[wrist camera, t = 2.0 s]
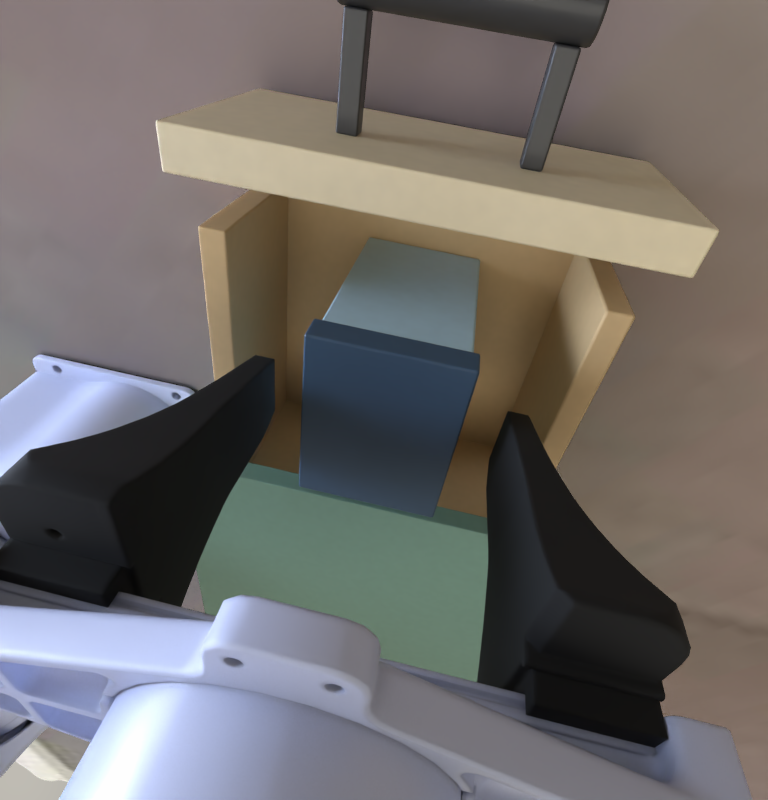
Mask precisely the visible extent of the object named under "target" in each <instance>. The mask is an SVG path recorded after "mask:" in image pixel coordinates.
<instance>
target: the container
mask: <svg viewBox="0 0 768 800" xmlns="http://www.w3.org/2000/svg"><path fill="white" fill-rule="evenodd" d="M479 271H480V260H479V259H474V258H469V257H464V256H459V255H454V254H449V253H445V252H440V251H435V250H430V249H425V248H420V247H415V246H410V245H405V244H400V243H395V242H391V241H386V240H381V239H376V238H369V239H368V241H367V243H366V244H365V246H364V248H363V249H362V251H361V253H360V255H359V256H358V258H357V260H356V262H355V263H354V265H353V267H352V269H351V270H350V272H349V274H348V276H347V277H346V279H345V281H344V283H343V284H342V286H341V288H340V290H339V291H338V293H337V295H336V297H335V298H334V300H333V302H332V304H331V305H330V307H329V309H328V311H327V312H326V314H325V316H324V318H323V319H322V320H320V319H314V320H313V321H312V323H311V325H310V326H309V328H308V330H307V331H306V333H305V335H304V355H303V382H302V410H301V437H300V464H299V486H300V487H303V488H307V489H312V490H316V491H320V492H324V493H329V494H333V495H337V496H341V497H346V498H350V499H354V500H359V501H363V502H367V503H371V504H376V505H380V506H384V507H388V508H393V509H397V510H401V511H405V512H410V513H414V514H418V515H422V516H427V517H433V516H434V513H435V510H436V507H437V504H438V501H439V498H440V495H441V491H442V488H443V485H444V482H445V479H446V476H447V473H448V470H449V467H450V463H451V460H452V457H453V454H454V451H455V448H456V445H457V442H458V439H459V436H460V432H461V429H462V426H463V423H464V420H465V417H466V414H467V411H468V408H469V404H470V401H471V398H472V395H473V392H474V389H475V386H476V383H477V380H478V377H479V373H480V354H478V353H474V342H475V328H476V314H477V300H478V285H479Z"/></svg>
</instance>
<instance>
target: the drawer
mask: <svg viewBox="0 0 768 800" xmlns="http://www.w3.org/2000/svg"><path fill="white" fill-rule="evenodd" d="M337 1H338V2H339V3H340V4H341V5H346V6H345V7H344V13H343V28H342V44H341V59H340V74H339V90H338V103H335V102H329V101H324V100H319V99H314V98H308V97H303V96H298V95H292V94H287V93H282V92H277V91H271V90H266V89H261V88H259V89H255V90H252V91H249V92H246V93H243V94H239V95H236V96H233V97H230V98H227V99H223V100H220V101H217V102H214V103H211V104H208V105H204V106H201V107H198V108H195V109H192V110H188V111H185V112H182V113H179V114H176V115H172V116H169V117H166V118H163V119H160V120H157V121H156V129H157V136H158V143H159V150H160V157H161V164H162V170H163V172H165V173H170V174H175V175H180V176H185V177H190V178H195V179H200V180H205V181H210V182H215V183H220V184H225V185H230V186H235V187H240V188H245V189H250V190H249V191H247V192H246V193H245V194H243V195H242V196H240V197H239V198H238V199H236V200H235V201H233V202H232V203H231V204H229V205H228V206H226V207H225V208H224V209H222V210H221V211H219V212H218V213H217V214H215V215H214V216H212V217H211V218H209V219H208V220H207V221H205V222H204V223H202V224H201V225H200V226H199V227H198V231H199V241H200V250H201V259H202V269H203V278H204V287H205V297H206V306H207V315H208V325H209V334H210V343H211V353H212V362H213V371H214V381H216V380H217V379H219V378H221V377H222V376H224V375H225V374H227V373H228V372H230V371H231V370H233V369H235V368H236V367H238V366H239V365H241V364H242V363H244V362H245V361H247V360H248V359H250V358H252V357H253V356H255V355H258V356H263V357H267V358H272V359H275V411H274V414H273V416H272V419H271V421H270V423H269V426H268V428H267V430H266V433H265V435H264V437H263V439H262V440H261V442H260V444H259V446H258V447H257V449H256V451H255V452H254V454H253V456H252V457H251V459H250V461H249V462H250V463H254V464H259V465H263V466H267V467H272V468H276V469H280V470H285V471H289V472H293V473H297V474H299V464H300V437H301V410H302V382H303V355H304V335H305V333H306V331H307V330H308V328H309V326H310V325H311V323H312V321H313V320H314V319H320V320H322V319H323V318H324V316H325V314H326V312H327V311H328V309H329V307H330V305H331V304H332V302H333V300H334V298H335V297H336V295H337V293H338V291H339V290H340V288H341V286H342V284H343V283H344V281H345V279H346V277H347V276H348V274H349V272H350V270H351V269H352V267H353V265H354V263H355V262H356V260H357V258H358V256H359V255H360V253H361V251H362V249H363V248H364V246H365V244H366V243H367V241H368V239H369V238H376V239H381V240H386V241H391V242H395V243H400V244H405V245H410V246H415V247H420V248H425V249H430V250H435V251H440V252H445V253H449V254H454V255H459V256H464V257H469V258H474V259H479V260H480V271H479V285H478V300H477V314H476V328H475V342H474V353H478V354H480V373H479V377H478V380H477V383H476V386H475V389H474V392H473V395H472V398H471V401H470V404H469V408H468V411H467V414H466V417H465V420H464V423H463V426H462V429H461V432H460V436H459V439H458V442H457V445H456V448H455V451H454V454H453V457H452V460H451V463H450V467H449V470H448V473H447V476H446V479H445V482H444V485H443V488H442V491H441V495H440V498H439V501H438V504H437V506H439V507H443V508H448V509H452V510H456V511H460V512H465V513H469V514H473V515H478V516H482V517H486V518H487V499H486V485H487V474H488V465H489V458H490V455H491V453H492V450H493V447H494V445H495V442H496V440H497V437H498V435H499V432H500V430H501V427H502V424H503V422H504V419H505V417H506V414H507V412H508V411H511V412H515V413H520V414H524V415H528V416H529V417H530V419H531V421H532V423H533V425H534V428H535V430H536V432H537V434H538V436H539V438H540V440H541V442H542V444H543V446H544V448H545V450H546V452H547V454H548V456H549V458H550V459H551V461H552V463H553V465H554V467H555V468H556V467H557V465H558V463H559V462H560V460H561V458H562V456H563V454H564V452H565V450H566V448H567V446H568V444H569V443H570V441H571V439H572V437H573V435H574V433H575V431H576V429H577V427H578V425H579V424H580V422H581V420H582V418H583V416H584V414H585V412H586V410H587V408H588V406H589V405H590V403H591V401H592V399H593V397H594V395H595V393H596V391H597V389H598V387H599V386H600V384H601V382H602V380H603V378H604V376H605V374H606V372H607V370H608V368H609V367H610V365H611V363H612V361H613V359H614V357H615V355H616V353H617V351H618V349H619V348H620V346H621V344H622V342H623V340H624V338H625V336H626V334H627V332H628V330H629V329H630V327H631V325H632V323H633V321H634V319H635V315H634V313H633V311H632V309H631V306H630V304H629V302H628V300H627V298H626V295H625V293H624V291H623V289H622V287H621V284H620V282H619V280H618V278H617V276H616V273H615V271H614V269H613V267H612V265H611V262H613V263H618V264H623V265H628V266H633V267H638V268H642V269H647V270H652V271H657V272H662V273H667V274H672V275H677V276H682V277H687V278H693V277H694V275H695V273H696V272H697V270H698V268H699V266H700V265H701V263H702V261H703V260H704V258H705V256H706V254H707V253H708V251H709V249H710V247H711V246H712V244H713V242H714V241H715V239H716V237H717V235H718V234H719V230H718V229H717V228H716V227H715V226H714V225H713V224H712V223H711V222H710V221H709V220H708V219H707V218H706V217H705V216H704V215H703V214H702V213H701V212H700V211H699V210H698V209H697V208H696V207H695V206H694V205H693V204H692V203H691V202H690V201H689V200H688V199H687V198H686V197H685V196H684V195H683V194H682V193H681V192H680V191H678V190H677V189H676V188H675V187H674V186H673V185H672V184H671V183H670V182H669V181H668V180H667V179H666V178H665V177H664V176H663V175H662V174H661V173H660V172H659V171H658V170H657V169H656V168H655V167H654V166H653V165H652V164H651V163H650V162H647V161H642V160H636V159H631V158H626V157H620V156H615V155H610V154H605V153H599V152H594V151H589V150H583V149H578V148H573V147H567V146H562V145H557V144H552V140H553V136H554V133H555V130H556V127H557V124H558V121H559V118H560V115H561V111H562V108H563V105H564V102H565V99H566V96H567V93H568V89H569V86H570V83H571V80H572V77H573V74H574V71H575V68H576V64H577V61H578V58H579V55H580V52H581V48H579V47H583V48H587V47H590V46H591V44H592V43H593V41H594V39H595V38H596V36H597V33H598V31H599V29H600V26H601V24H602V21H603V18H604V16H605V13H606V10H607V7H608V3H609V0H337ZM372 10H374V11H380V12H386V13H391V14H397V15H403V16H408V17H414V18H419V19H425V20H431V21H436V22H442V23H448V24H453V25H459V26H465V27H470V28H476V29H481V30H487V31H493V32H498V33H504V34H510V35H515V36H521V37H527V38H532V39H538V40H543V41H549V42H555V43H554V45H553V47H552V51H551V54H550V58H549V61H548V64H547V68H546V71H545V75H544V78H543V82H542V85H541V89H540V92H539V96H538V99H537V103H536V106H535V110H534V113H533V117H532V120H531V123H530V127H529V130H528V134H527V137H526V139H525V138H520V137H515V136H509V135H504V134H499V133H493V132H488V131H483V130H478V129H472V128H467V127H462V126H456V125H451V124H446V123H441V122H435V121H430V120H425V119H419V118H414V117H409V116H403V115H398V114H393V113H388V112H382V111H377V110H372V109H366V108H364V100H365V89H366V79H367V68H368V57H369V47H370V36H371V26H372V15H373V12H372Z"/></svg>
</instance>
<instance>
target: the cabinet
mask: <svg viewBox="0 0 768 800" xmlns="http://www.w3.org/2000/svg"><path fill="white" fill-rule="evenodd" d="M196 569H197V574H198V579H199V584H200V589H201V594H202V600H203V605H204V610H205V613H206V614H210V615H214V616H217V614H218V612H219V610H220V607H221V605H222V603H223V601H224V600H226V599H228V598H232V597H235V596H238V595H249V596H258V597H262V598H266V599H270V600H274V601H278V602H282V603H286V604H290V605H294V606H298V607H302V608H306V609H310V610H314V611H318V612H322V613H326V614H330V615H334V616H338V617H342V618H346V619H349V620H351V621H354V622H356V623H359V624H361V625H364V626H365V627H366V628H368V629H369V630H370V631H371V632H372V633H374V634H375V635H376V636H377V638H378V639H379V643H380V647H381V654H380V658H383V659H387V660H391V661H395V662H399V663H403V664H407V665H411V666H415V667H418V668H422V669H426V670H430V671H434V672H438V673H442V674H446V675H450V676H454V677H458V678H462V679H466V680H470V681H474V682H477V676H478V668H479V660H480V650H481V641H482V632H483V622H484V611H485V599H486V587H487V574H488V530H487V518H486V517H482V516H478V515H473V514H469V513H465V512H460V511H456V510H452V509H448V508H443V507H439V506H437V507H436V510H435V513H434V516H433V517H427V516H422V515H418V514H414V513H410V512H405V511H401V510H397V509H393V508H388V507H384V506H380V505H376V504H371V503H367V502H363V501H359V500H354V499H350V498H346V497H341V496H337V495H333V494H329V493H324V492H320V491H316V490H312V489H307V488H303V487H300V486H299V474H297V473H293V472H289V471H285V470H280V469H276V468H272V467H267V466H263V465H259V464H254V463H250V462H248V464H247V466H246V467H245V469H244V471H243V472H242V474H241V476H240V477H239V479H238V481H237V482H236V484H235V486H234V487H233V489H232V491H231V492H230V494H229V496H228V498H227V500H226V502H225V504H224V506H223V508H222V510H221V512H220V514H219V517H218V519H217V521H216V523H215V525H214V527H213V530H212V532H211V534H210V537H209V539H208V541H207V543H206V546H205V548H204V550H203V553H202V555H201V557H200V560H199V562H198V565H197V567H196Z"/></svg>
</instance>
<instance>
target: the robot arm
mask: <svg viewBox="0 0 768 800" xmlns="http://www.w3.org/2000/svg"><path fill="white" fill-rule="evenodd" d="M33 364H34V367H35V370H36V373H34V374H33V375H32V376H30V377H29V378H28V379H27V380H25V381H24V382H23V383H21V384H20V385H19V386H18V387H16V388H15V389H14V390H12V391H11V392H10V393H9V394H7V395H6V396H5V397H3V398H2V399H1V400H0V777H1V776H2V775H3V774H4V773H5V772H6V771H7V770H8V769H9V767H10V766H11V765H12V764H13V763H14V762H15V760H16V759H17V758H18V757H19V756H20V755H21V754H22V753H23V752H24V751H25V749H26V748H27V747H28V746H29V745H30V744H31V743H32V742H33V741H34V740H35V739H36V738H37V737H38V736H39V735H40V734H41V733H42V732H43V731H44V730H46V729H47V728H48V727H50V728H52V729H55V730H58V731H61V732H63V733H66V734H69V735H72V736H74V737H77V738H80V739H83V740H85V741H88V742H91V743H90V745H89V746H88V748H87V750H86V752H85V754H84V755H83V757H82V759H81V761H80V762H79V764H78V766H77V768H76V770H75V771H74V773H73V775H72V777H71V779H70V780H69V782H68V784H67V786H66V788H65V789H64V791H63V793H62V795H61V796H60V798H59V800H752V797H751V794H750V791H749V787H748V784H747V781H746V778H745V775H744V772H743V769H742V766H741V763H740V759H739V756H738V753H737V750H736V747H735V744H734V741H733V738H732V735H731V732H730V730H728V729H727V728H725V727H722V726H718V725H714V724H710V723H706V722H702V721H698V720H694V719H690V718H686V717H681V716H666V717H663V714H662V710H661V706H660V702H659V701H661V702H662V701H663V700H665V693H664V688H663V684H662V680H663V679H664V678H666V677H667V676H668V675H669V674H671V673H672V672H673V671H674V670H675V669H677V668H678V667H679V666H680V665H681V664H682V663H683V662H684V661H685V660H686V659H687V658H688V656H689V654H690V649H691V647H690V644H689V640H688V637H687V634H686V630H685V627H684V623H683V620H682V618H681V615H680V613H679V610H678V608H677V605H676V603H675V602H674V601H672V600H671V599H670V598H669V597H668V596H666V595H665V594H664V593H663V592H662V591H661V590H659V589H658V588H657V587H656V586H655V585H653V584H652V583H651V582H650V581H649V580H648V579H646V578H645V577H644V576H643V575H642V574H641V573H640V572H639V571H638V570H637V569H636V568H635V567H633V566H632V565H631V564H630V563H629V562H628V561H627V560H626V559H625V558H624V557H623V556H622V555H621V554H620V553H619V552H618V551H617V550H616V549H615V548H614V547H613V546H612V544H611V543H610V542H609V541H608V540H607V539H606V538H605V537H604V535H603V534H602V533H601V532H600V531H599V530H598V529H597V527H596V526H595V525H594V524H593V523H592V522H591V520H590V519H589V518H588V516H587V515H586V514H585V512H584V511H583V510H582V509H581V507H580V506H579V505H578V503H577V502H576V500H575V499H574V498H573V496H572V495H571V493H570V492H569V490H568V488H567V487H566V485H565V484H564V482H563V480H562V479H561V477H560V475H559V474H558V472H557V470H556V468H555V467H554V465H553V463H552V461H551V459H550V458H549V456H548V454H547V452H546V450H545V448H544V446H543V444H542V442H541V440H540V438H539V436H538V434H537V432H536V430H535V428H534V425H533V423H532V421H531V419H530V417H529V416H528V415H524V414H520V413H515V412H511V411H508V412H507V414H506V417H505V419H504V422H503V424H502V427H501V430H500V432H499V435H498V437H497V440H496V442H495V445H494V447H493V450H492V453H491V455H490V458H489V465H488V474H487V485H486V499H487V530H488V574H487V587H486V599H485V611H484V622H483V632H482V641H481V650H480V660H479V668H478V676H477V682H474V681H470V680H466V679H462V678H458V677H454V676H450V675H446V674H442V673H438V672H434V671H430V670H426V669H422V668H418V667H415V666H411V665H407V664H403V663H399V662H395V661H391V660H387V659H383V658H380V654H381V647H380V643H379V639H378V638H377V636H376V635H375V634H374V633H372V632H371V631H370V630H369V629H368V628H366V627H365V626H364V625H361V624H359V623H356V622H354V621H351V620H349V619H346V618H342V617H338V616H334V615H330V614H326V613H322V612H318V611H314V610H310V609H306V608H302V607H298V606H294V605H290V604H286V603H282V602H278V601H274V600H270V599H266V598H262V597H258V596H249V595H238V596H235V597H232V598H228V599H226V600H224V601H223V603H222V605H221V607H220V610H219V612H218V614H217V616H214V615H210V614H206V613H202V612H198V611H194V610H190V609H186V608H182V607H181V605H182V603H183V600H184V597H185V595H186V592H187V589H188V587H189V584H190V582H191V579H192V577H193V575H194V572H195V570H196V567H197V565H198V562H199V560H200V557H201V555H202V553H203V550H204V548H205V546H206V543H207V541H208V539H209V537H210V534H211V532H212V530H213V527H214V525H215V523H216V521H217V519H218V517H219V514H220V512H221V510H222V508H223V506H224V504H225V502H226V500H227V498H228V496H229V494H230V492H231V491H232V489H233V487H234V486H235V484H236V482H237V481H238V479H239V477H240V476H241V474H242V472H243V471H244V469H245V467H246V466H247V464H248V462H249V461H250V459H251V457H252V456H253V454H254V452H255V451H256V449H257V447H258V446H259V444H260V442H261V440H262V439H263V437H264V435H265V433H266V430H267V428H268V426H269V423H270V421H271V419H272V416H273V414H274V411H275V359H272V358H267V357H263V356H258V355H255V356H253V357H252V358H250V359H248V360H247V361H245V362H244V363H242V364H241V365H239V366H238V367H236V368H235V369H233V370H231V371H230V372H228V373H227V374H225V375H224V376H222V377H221V378H219V379H217V380H216V381H214V382H213V383H211V384H209V385H208V386H206V387H205V388H203V389H201V390H199V391H197V392H196V393H195V392H194V391H193V390H191V389H190V388H187V387H183V386H178V385H174V384H170V383H165V382H161V381H156V380H152V379H147V378H143V377H139V376H134V375H130V374H125V373H121V372H116V371H112V370H108V369H103V368H99V367H94V366H90V365H86V364H81V363H77V362H72V361H68V360H63V359H59V358H55V357H50V356H46V355H38V356H36V357H35V358H33ZM177 393H178V394H179V395H178V394H177Z"/></svg>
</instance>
